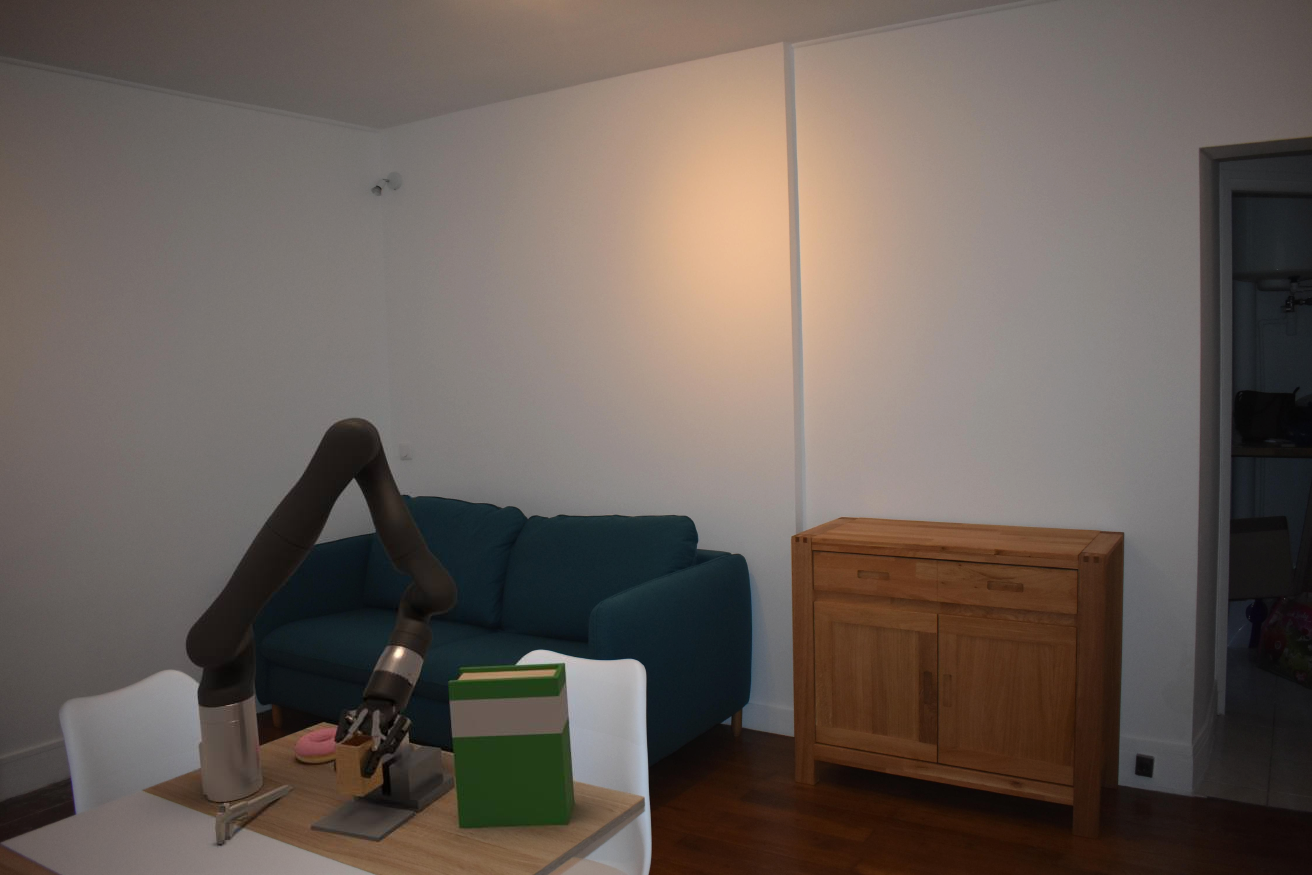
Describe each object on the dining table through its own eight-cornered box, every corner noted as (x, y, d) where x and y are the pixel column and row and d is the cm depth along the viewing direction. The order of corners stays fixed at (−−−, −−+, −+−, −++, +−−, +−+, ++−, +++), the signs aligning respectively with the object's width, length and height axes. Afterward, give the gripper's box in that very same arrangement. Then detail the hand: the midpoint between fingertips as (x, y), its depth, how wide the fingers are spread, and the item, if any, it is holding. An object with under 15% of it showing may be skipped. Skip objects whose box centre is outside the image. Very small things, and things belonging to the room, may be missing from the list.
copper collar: (338, 792, 148) (334, 745, 148) (359, 779, 153) (355, 733, 152) (362, 796, 146) (358, 748, 146) (383, 782, 151) (379, 736, 150)
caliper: (223, 847, 145) (219, 809, 144) (216, 846, 145) (213, 808, 144) (294, 789, 165) (291, 755, 164) (288, 789, 165) (285, 755, 164)
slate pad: (311, 828, 148) (310, 825, 148) (349, 803, 157) (349, 800, 157) (378, 841, 143) (378, 837, 143) (415, 814, 151) (414, 811, 151)
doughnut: (320, 770, 172) (318, 748, 172) (282, 760, 178) (281, 740, 178) (365, 748, 182) (363, 728, 181) (328, 740, 187) (326, 720, 187)
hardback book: (459, 827, 146) (448, 682, 144) (471, 806, 153) (460, 667, 151) (567, 824, 145) (557, 677, 143) (574, 802, 152) (564, 662, 150)
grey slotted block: (340, 799, 159) (334, 726, 158) (379, 774, 168) (373, 706, 167) (419, 812, 152) (412, 736, 151) (454, 786, 161) (449, 715, 160)
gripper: (350, 665, 158) (304, 760, 148) (416, 670, 152) (373, 770, 142) (373, 684, 163) (330, 778, 153) (438, 690, 157) (398, 788, 147)
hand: (351, 773), depth 147 cm, fingers closed on copper collar, 5 cm apart
